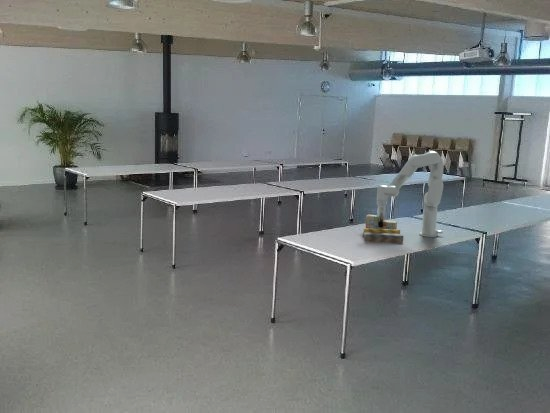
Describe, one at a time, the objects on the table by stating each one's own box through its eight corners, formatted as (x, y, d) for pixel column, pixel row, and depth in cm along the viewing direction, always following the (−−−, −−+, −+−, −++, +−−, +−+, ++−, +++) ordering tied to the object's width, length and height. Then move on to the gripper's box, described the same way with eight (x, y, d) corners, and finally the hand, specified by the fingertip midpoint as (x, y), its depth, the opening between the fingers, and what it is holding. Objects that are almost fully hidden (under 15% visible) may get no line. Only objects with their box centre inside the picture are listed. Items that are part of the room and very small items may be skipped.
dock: (399, 236, 378) (399, 229, 377) (402, 243, 360) (403, 236, 359) (363, 235, 381) (363, 228, 380) (365, 241, 362) (365, 234, 361)
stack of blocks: (396, 234, 388) (397, 217, 386) (394, 235, 382) (395, 218, 380) (367, 230, 397) (368, 214, 395) (365, 232, 392) (365, 215, 390)
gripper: (388, 204, 377) (386, 228, 380) (385, 200, 394) (384, 223, 397) (377, 204, 378) (375, 228, 381) (375, 200, 395) (373, 223, 398)
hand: (380, 225), depth 389 cm, fingers open, 9 cm apart
